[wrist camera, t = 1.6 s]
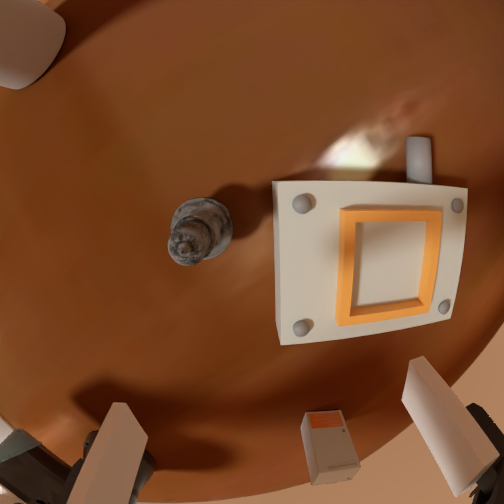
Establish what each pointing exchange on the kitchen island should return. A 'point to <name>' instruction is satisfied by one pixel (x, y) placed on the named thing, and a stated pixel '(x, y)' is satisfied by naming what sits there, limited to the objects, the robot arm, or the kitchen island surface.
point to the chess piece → (199, 231)
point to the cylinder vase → (27, 41)
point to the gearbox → (366, 252)
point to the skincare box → (328, 447)
